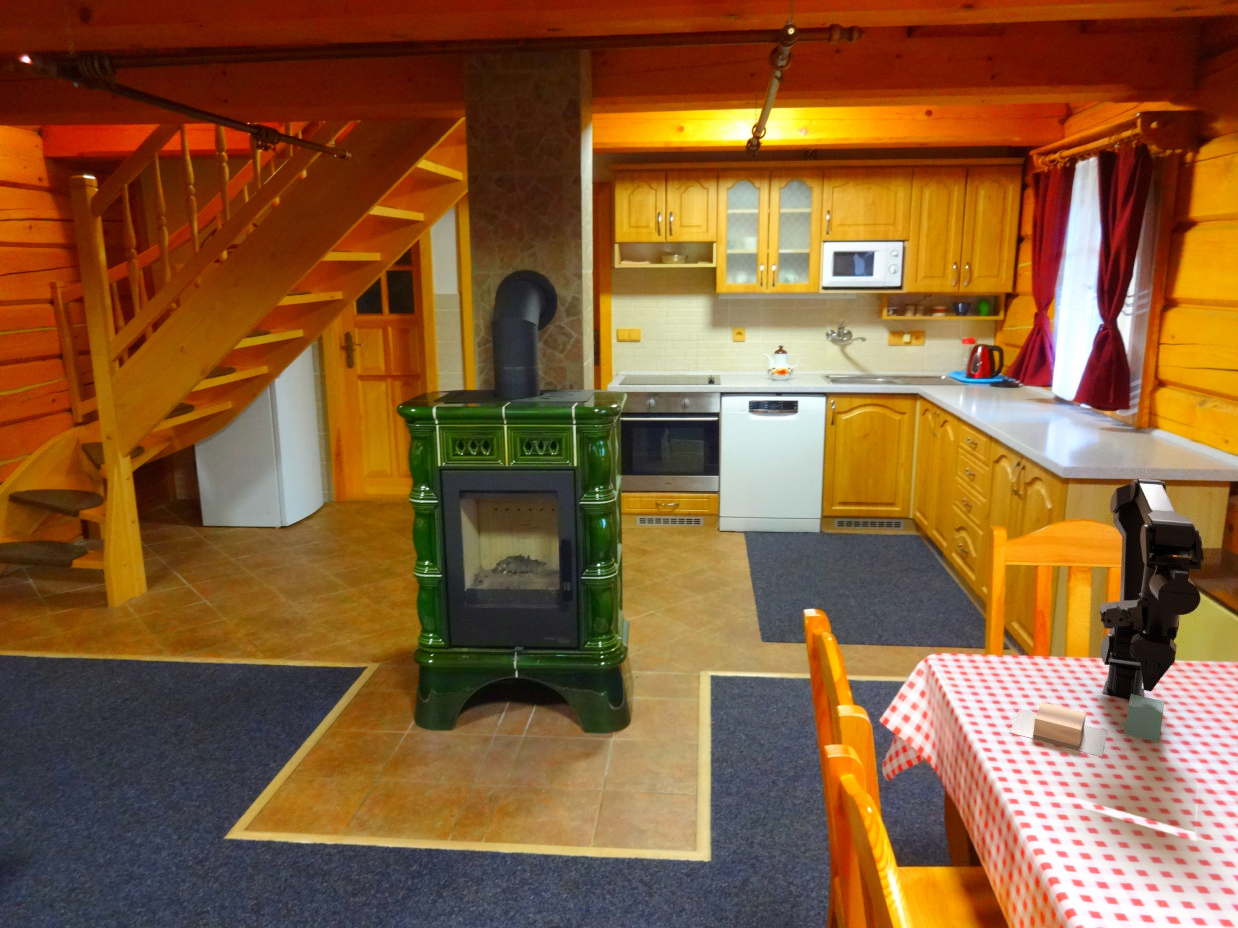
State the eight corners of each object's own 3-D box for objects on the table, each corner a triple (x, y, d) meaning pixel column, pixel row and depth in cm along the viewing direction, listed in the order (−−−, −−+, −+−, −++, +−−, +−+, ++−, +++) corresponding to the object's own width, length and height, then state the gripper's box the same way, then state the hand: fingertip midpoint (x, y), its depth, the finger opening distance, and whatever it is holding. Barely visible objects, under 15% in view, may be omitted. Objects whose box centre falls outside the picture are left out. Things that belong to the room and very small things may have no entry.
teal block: (1126, 725, 153) (1130, 693, 152) (1159, 733, 151) (1164, 701, 149) (1124, 737, 149) (1128, 704, 148) (1158, 745, 147) (1162, 713, 145)
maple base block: (1039, 717, 155) (1041, 701, 154) (1084, 728, 151) (1085, 712, 150) (1033, 734, 149) (1034, 718, 148) (1078, 746, 145) (1080, 729, 144)
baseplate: (1019, 711, 158) (1020, 708, 158) (1107, 733, 150) (1107, 730, 150) (1009, 735, 150) (1009, 732, 150) (1101, 759, 142) (1101, 756, 142)
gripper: (1111, 568, 157) (1101, 649, 160) (1100, 600, 141) (1089, 688, 145) (1185, 580, 150) (1172, 664, 154) (1181, 614, 135) (1168, 707, 139)
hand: (1149, 679), depth 148 cm, fingers open, 9 cm apart
